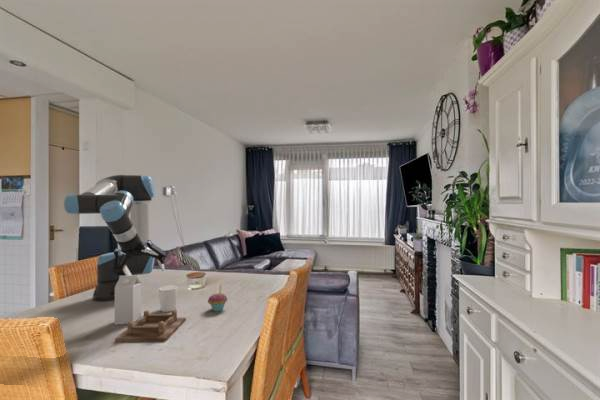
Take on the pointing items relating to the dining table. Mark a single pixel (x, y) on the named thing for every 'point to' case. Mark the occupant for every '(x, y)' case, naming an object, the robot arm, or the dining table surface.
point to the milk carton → (127, 299)
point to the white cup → (168, 298)
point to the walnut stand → (152, 327)
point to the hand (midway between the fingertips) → (147, 273)
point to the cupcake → (217, 301)
